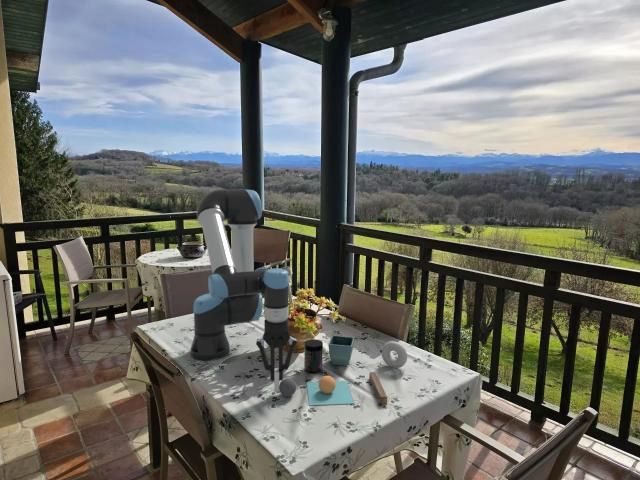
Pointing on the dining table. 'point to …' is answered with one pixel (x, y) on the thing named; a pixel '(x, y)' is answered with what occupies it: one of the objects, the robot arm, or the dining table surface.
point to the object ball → (327, 384)
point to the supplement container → (313, 356)
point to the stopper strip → (378, 388)
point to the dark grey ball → (287, 387)
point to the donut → (398, 349)
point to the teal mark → (334, 398)
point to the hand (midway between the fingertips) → (276, 389)
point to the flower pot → (340, 349)
